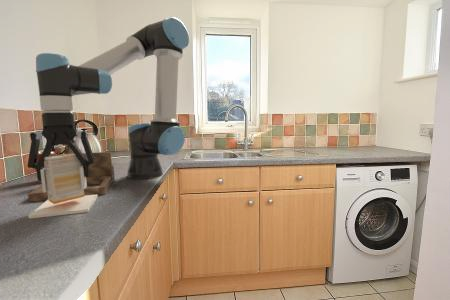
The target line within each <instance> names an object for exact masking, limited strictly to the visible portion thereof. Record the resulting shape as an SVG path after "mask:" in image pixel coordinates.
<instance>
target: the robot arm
mask: <svg viewBox="0 0 450 300" xmlns="http://www.w3.org/2000/svg"><path fill="white" fill-rule="evenodd" d="M189 43H190V34H189V31H188V29H187V28H186V26H185V25H184V23H183V22H182V20H180V19H179V18H176V17H169V18H167V17H166V18H164V19H163V20H160V21H157V22H154V23H150V24H148V25H145V26H144V27H142V28H140V30H137V31H136V32H135V33H133V34H131V35H129V36H128V37H126V40H125V41H124V42H122V43H120V44H118V45H117V46H114V47H113V48H111V49H109V50H106V51H105V52H103V53H101V54H99V55H97V56H95V57H92V58H91V59H89V60H86V61H85V62H84V63H81V64H80V65H73V64H70V62H69V58H68V57H67V56H65V55H62V54H57V53H52V52H51V53H50V52H44V53H39V54H37V55H36V57H35V72H36V78H37V86H38V92H39V103H40V111H41V112H43V113H42V114H41V121H42V131H40V132H39V131H38V132H36V131H35V132H30V134H29V137H30V141H31V142H30V148H29V155H28V160H27V168H29V169H34V170H36V177H37V182H39V181H41V180H42V183H41V185H42V188H43V192H47V184H46V176H45V168H43V167H44V158H45V157H49V155H50V153H51V151H53V148H54V147H55V146H59V145H62V146H66V145H67V146H68V147H69V148H70V149H71V152H72V154H75V155H76V157H77V158H78V160H79V161H80V162H81V164H82V165H83V166H81V167H80V174H81V184H82V189H85V188H86V187H88V185H87V182H86V177H88V176H89V174H90V173H89V165H91V164H93V163H94V162H95V158H94V155H93V153H94V152H93V149H92V147H91V145H90V142H89V138H88V135H89V134H88V131H87V130H77V129H76V126H75V125H76V124H75V117H74V116H75V115H74V113H73V112H72V111H74V108H73V107H74V105H73V97H75V96H80V95H87V94H88V95H89V94H98V95H102V94H103V95H104V94H105V95H106V94H109V93H110V92H111V91H112V86H113V80H112V76H111V75H113V74H115V73H117V72H118V71H119V70H121V69H122V68H125V67H126V66H128V65H130V64H132V62H133V63H134V61H136V60H138V61H139V60H140V61H141V60H143V59H146V58H147V57H149V56H155V57H156V75H155V97H154V98H155V99H154V100H155V101H154V103H155V104H154V117H153V118H152V119H151V120H150V122H144V123H135V124H131V125H130V126H128V139H129V140H128V141H129V152H130V153H129V154H130V161H129V165H128V168H127V173H126V174H127V177H128V178H129V179H135V180H136V179H137V180H138V179H139V180H143V179H145V180H146V179H152V178H157V177H160V176H162V175H163V174H164V173H163V166H162V165H161V162H160V159H159V155H163V156H174V155H176V154H178V153H179V152H180V151H181V150H182V148H183V147H184V145H185V140H186V137H185V132H184V130H183V129H182V128H181V127H180V121H179V120H178V119H177V107H178V106H177V105H178V102H177V101H178V83H179V82H178V81H179V79H178V78H179V61H180V60H181V59H182V57H183V53H184V52H183V50H184V49H185V48H187V47H188V46H189ZM77 136H78V138H79V139H80V140H81V144H82V147H83V149H84V152H82V150H81V149H80V148H79V146H78V145H77V143H76V141H75V140H74V139H75V137H77ZM42 138H45V139H46V142H45V145H44V148H43V151H42V152H43V153H42V155H41V157H40V159H39V161H38V163H37V157H38V153H39V152H40V150H39V149H40V145H41V144H40V143H41V140H42ZM83 153H86V155H87V158H88V161H87V159H86V158H85V156H84V155H83Z"/></svg>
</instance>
